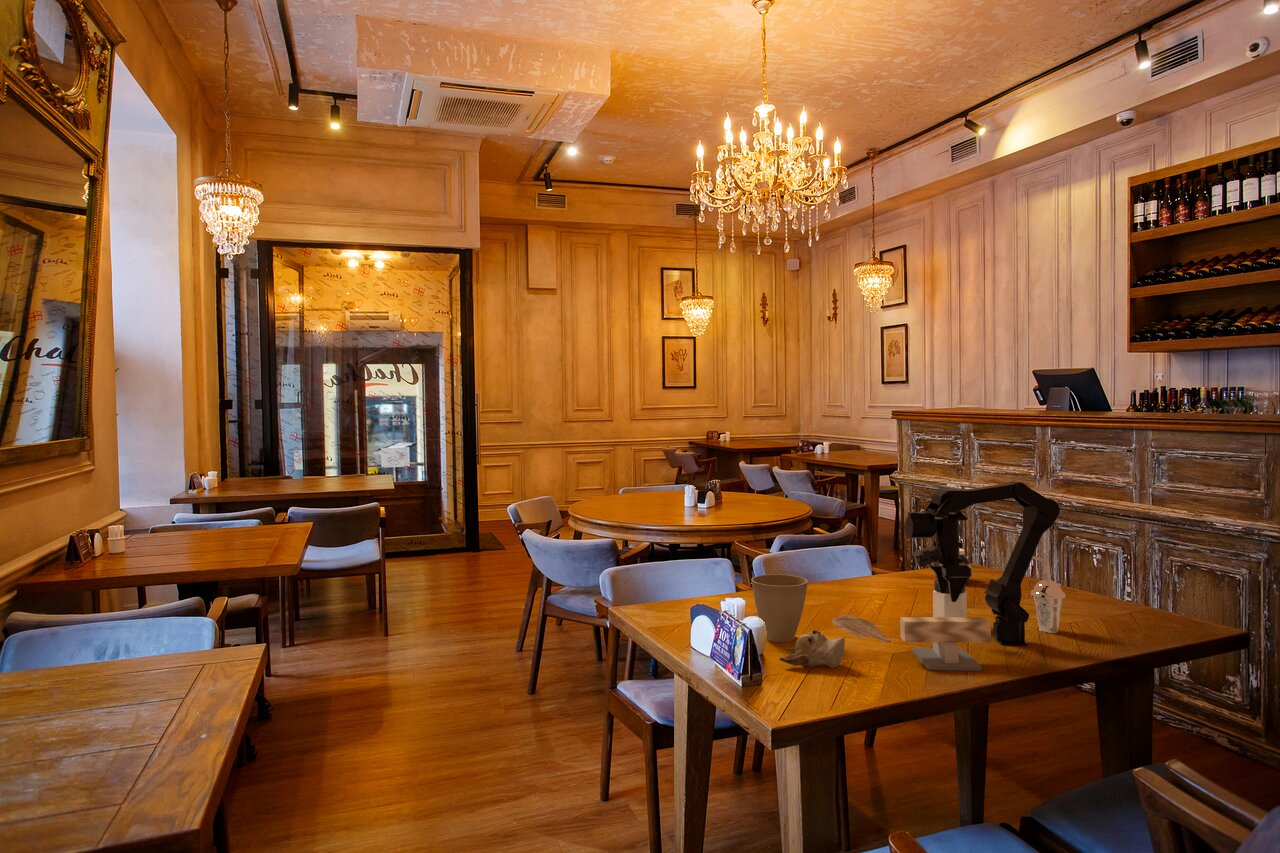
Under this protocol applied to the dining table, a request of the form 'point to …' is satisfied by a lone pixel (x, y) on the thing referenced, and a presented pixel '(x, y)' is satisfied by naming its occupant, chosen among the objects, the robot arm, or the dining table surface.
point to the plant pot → (780, 604)
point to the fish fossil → (859, 627)
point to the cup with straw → (1047, 602)
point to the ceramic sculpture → (816, 651)
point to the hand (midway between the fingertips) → (948, 597)
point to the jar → (948, 603)
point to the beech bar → (945, 629)
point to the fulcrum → (946, 657)
